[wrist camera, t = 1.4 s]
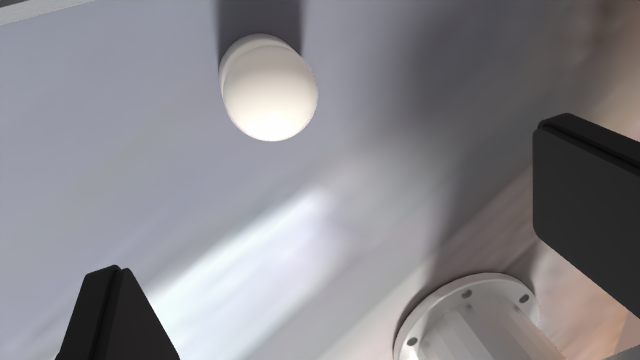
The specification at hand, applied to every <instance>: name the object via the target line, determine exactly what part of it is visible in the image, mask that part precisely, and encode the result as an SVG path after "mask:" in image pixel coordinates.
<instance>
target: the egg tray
mask: <svg viewBox="0 0 640 360" xmlns="http://www.w3.org/2000/svg"><path fill="white" fill-rule="evenodd" d="M90 1H94V0H0V25H3V24H7V23H11V22H15V21H19V20H22V19H26V18H30V17H34V16H37V15H41V14H45V13H49V12H53V11H56V10H60V9H64V8H68V7H71V6H75V5H79V4H83V3H87V2H90Z"/></svg>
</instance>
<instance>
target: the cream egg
mask: <svg viewBox="0 0 640 360" xmlns="http://www.w3.org/2000/svg"><path fill="white" fill-rule="evenodd" d="M219 83H220V88H221V92H222V97H223V101H224V105H225V108H226V111H227V113H228V115H229V117H230V118H231V120H232V121H233V123H234V124H235V125H236V126H237V127H238V128H239V129H240V130H241V131H243V132H244V133H245V134H247V135H249V136H251V137H253V138H256V139H259V140H263V141H280V140H284V139H287V138H290V137H292V136H294V135H296V134H297V133H299V132H300V131H301V130H302V129H303V128H305V126H306V125H307V124H308V123H309V121H310V120H311V118H312V117H313V115H314V112H315V109H316V106H317V102H318V87H317V81H316V78H315V75H314V73H313V71H312V69H311V68H310V66H309V65H308V63H307V62H306V61H305V60H304V59H303V58H302V57H301V56H300V55H299V54H298V53H297V52H295V51H294V50H293V49H292V48H291V47H290V46H289V45H288V44H287V43H286V42H284V41H283V40H281V39H279V38H277V37H275V36H272V35H269V34H260V33H259V34H251V35H247V36H245V37H242V38H240V39H238V40H237V41H236V42H234V43H233V44H232V45H231V46H230V47H229V48H228V49H227V51H226V52H225V54H224V55H223V57H222V60H221V63H220V66H219Z"/></svg>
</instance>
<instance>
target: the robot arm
mask: <svg viewBox="0 0 640 360" xmlns="http://www.w3.org/2000/svg"><path fill="white" fill-rule="evenodd" d="M533 227H534V230H535V232H536V234H537V236H538V237H539V238H540V239H541V240H542V241H544V242H545V243H546V244H547V245H549V246H550V247H551V248H552V249H553V250H555V251H556V252H557V253H558V254H560V255H561V256H562V257H563V258H565V259H566V260H567V261H568V262H570V263H571V264H572V265H573V266H575V267H576V268H577V269H578V270H580V271H581V272H582V273H583V274H585V275H586V276H587V277H588V278H590V279H591V280H592V281H593V282H594V283H596V284H597V285H598V286H599V287H601V288H602V289H603V290H604V291H606V292H607V293H608V294H609V295H611V296H612V297H613V298H614V299H616V300H617V301H618V302H619V303H621V304H622V305H623V306H624V307H626V308H627V309H628V310H629V311H631V312H632V313H633V314H634V315H635V316H637V317H638V318H639V319H640V142H638V141H635V140H633V139H631V138H628V137H626V136H623V135H621V134H618V133H616V132H614V131H611V130H609V129H606V128H604V127H601V126H599V125H597V124H594V123H592V122H589V121H587V120H584V119H582V118H579V117H577V116H575V115H572V114H569V113H564V114H560V115H557V116H554V117H551V118H548V119H546V120H543V121H541V122H540V123H539V125H538V127H537V129H536V130H535V131H534V133H533ZM539 323H540V307H539V304H538V302H537V299H536V297H535V296H534V294H533V293H532V292H531V291H530V290H529V289H528V288H527V287H526V286H525V285H524V284H523V283H522V282H521V281H520V280H518V279H516V278H514V277H512V276H510V275H505V274H501V273H480V274H474V275H469V276H466V277H463V278H460V279H457V280H455V281H453V282H451V283H448V284H446V285H444V286H442V287H441V288H439V289H438V290H436V291H435V292H433V293H432V294H430V295H429V296H428V297H427V298H425V299H424V300H423V301H422V302H421V303H420V304H419V305H418V306H417V307H416V308H415V309H414V310H413V311H412V313H411V314H410V315H409V316H408V317H407V319H406V320H405V322H404V324H403V325H402V327H401V329H400V331H399V333H398V336H397V338H396V341H395V346H394V352H393V356H394V360H568V359H567V358H566V357H565V356H564V355H563V354H562V353H561V352H560V351H559V350H558V349H557V347H556V346H555V345H554V344H553V343H552V342H551V341H550V340H549V339H548V338H547V337H546V336H545V335H544V334H543V333H542V331H541V330H540V329H539ZM55 360H180V358H179V355H178V353H177V351H176V350H175V348H174V346H173V344H172V342H171V341H170V339H169V337H168V335H167V334H166V332H165V330H164V328H163V326H162V325H161V323H160V321H159V319H158V318H157V316H156V314H155V312H154V310H153V309H152V307H151V305H150V303H149V301H148V300H147V298H146V296H145V294H144V293H143V291H142V289H141V287H140V285H139V284H138V282H137V280H136V278H135V277H134V275H133V273H132V272H131V270H130V269H129V268H125V269H122V270H121V268H120V267H119V266H117V265H112V266H109V267H106V268H103V269H100V270H97V271H94V272H91V273H88V274H86V276H85V278H84V280H83V283H82V286H81V289H80V292H79V295H78V298H77V301H76V304H75V307H74V310H73V313H72V316H71V319H70V322H69V325H68V328H67V331H66V334H65V337H64V340H63V343H62V346H61V349H60V352H59V353H58V354H57V356H56V358H55ZM603 360H640V345H638V346H635V347H633V348H630V349H628V350H625V351H623V352H620V353H618V354H615V355H613V356H610V357H608V358H605V359H603Z"/></svg>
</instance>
